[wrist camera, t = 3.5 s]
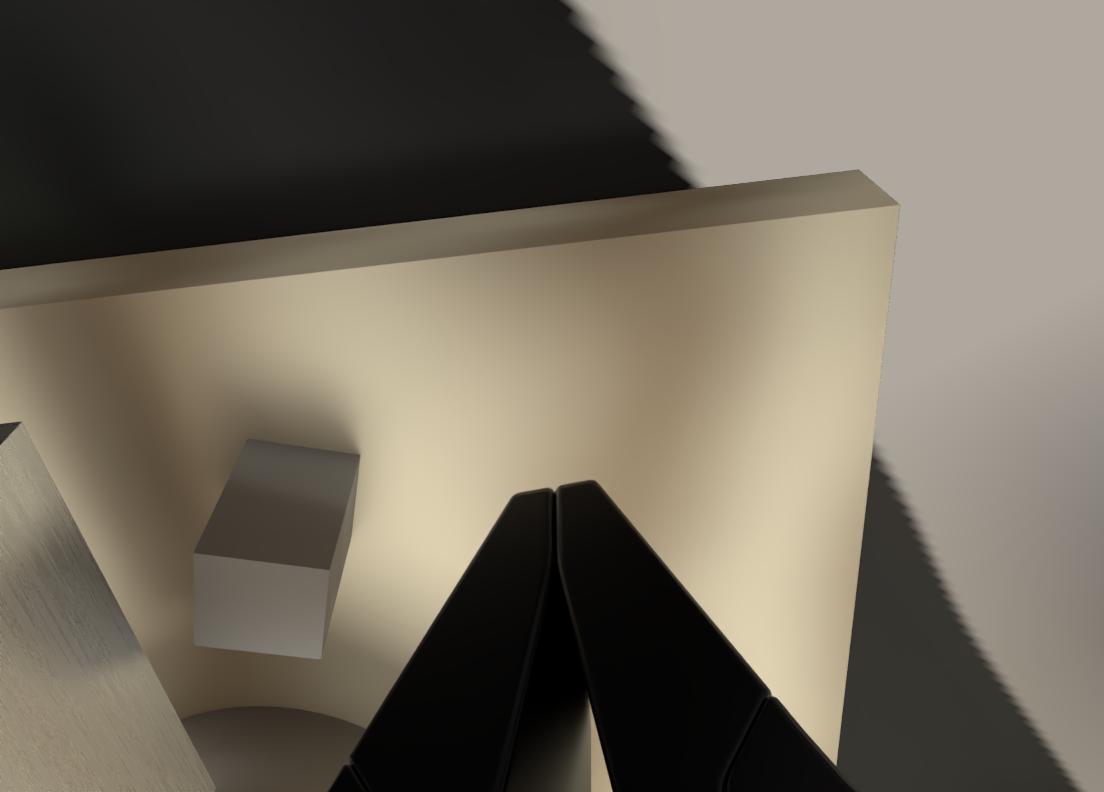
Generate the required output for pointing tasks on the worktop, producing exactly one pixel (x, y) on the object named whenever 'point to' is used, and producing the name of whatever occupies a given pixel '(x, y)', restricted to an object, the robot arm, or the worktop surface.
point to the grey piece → (73, 657)
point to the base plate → (459, 436)
